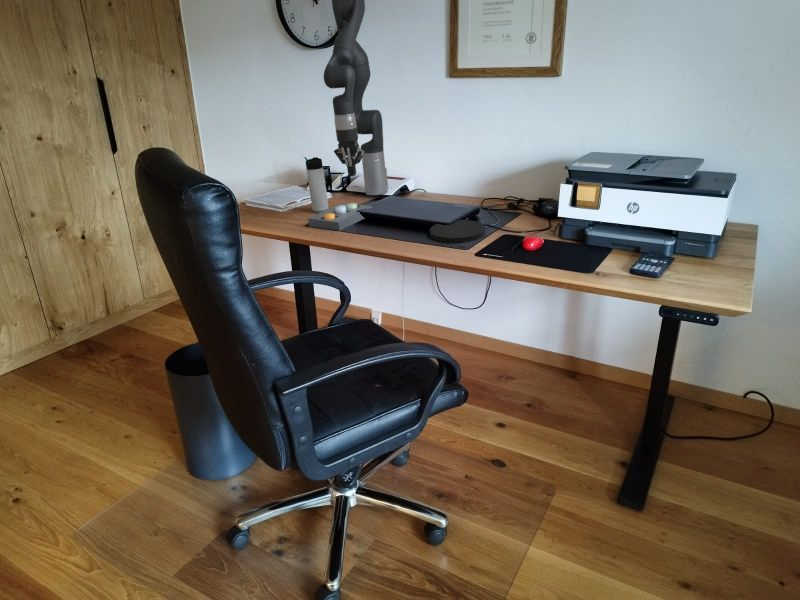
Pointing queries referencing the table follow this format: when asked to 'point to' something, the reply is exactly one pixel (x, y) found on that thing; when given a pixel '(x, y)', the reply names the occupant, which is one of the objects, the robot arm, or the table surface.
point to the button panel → (337, 218)
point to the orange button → (329, 216)
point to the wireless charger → (458, 232)
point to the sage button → (351, 206)
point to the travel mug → (317, 185)
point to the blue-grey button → (340, 209)
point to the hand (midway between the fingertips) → (352, 175)
